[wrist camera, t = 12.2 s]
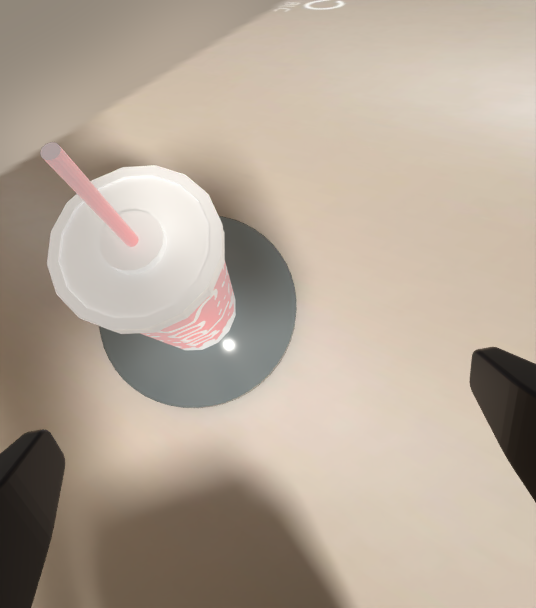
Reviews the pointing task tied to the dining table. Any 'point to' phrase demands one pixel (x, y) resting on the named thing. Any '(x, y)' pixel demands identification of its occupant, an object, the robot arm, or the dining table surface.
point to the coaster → (233, 346)
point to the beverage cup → (141, 254)
